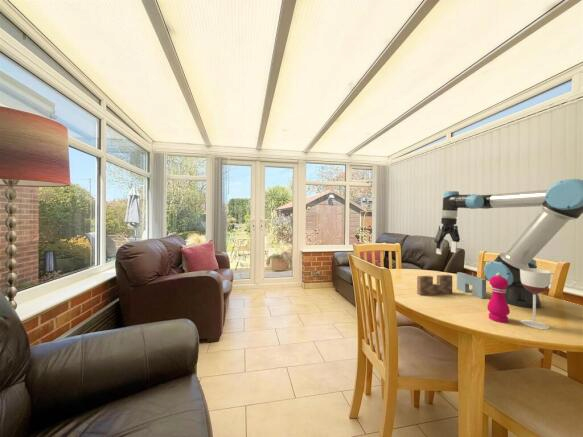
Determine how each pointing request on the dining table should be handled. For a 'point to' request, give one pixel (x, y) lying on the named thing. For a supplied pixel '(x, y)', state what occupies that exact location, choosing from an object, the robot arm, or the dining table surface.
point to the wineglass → (535, 289)
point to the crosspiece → (476, 283)
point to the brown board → (434, 285)
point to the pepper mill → (498, 299)
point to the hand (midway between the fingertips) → (446, 253)
